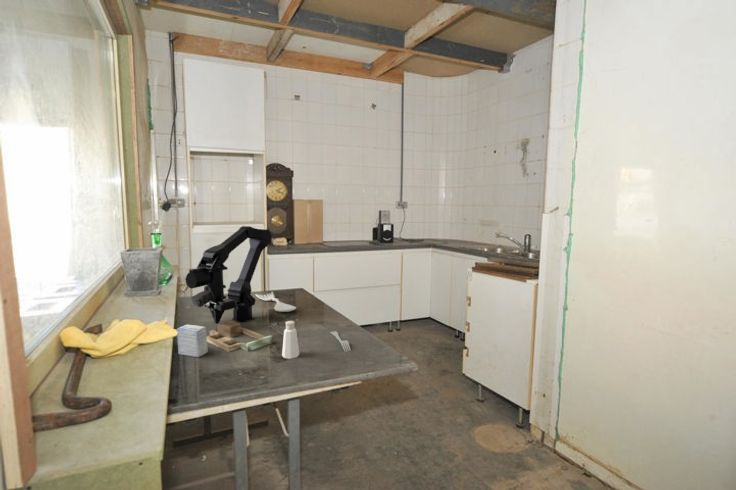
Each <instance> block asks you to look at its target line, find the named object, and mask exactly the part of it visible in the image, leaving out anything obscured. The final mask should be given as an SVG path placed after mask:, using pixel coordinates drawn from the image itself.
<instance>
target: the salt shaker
mask: <svg viewBox="0 0 736 490" xmlns="http://www.w3.org/2000/svg"><path fill="white" fill-rule="evenodd" d="M298 340H299V339H298V333H297V329H296V328H295V321H294V320H288V321H285V329H284V338H282V341H283V342H282V351H281V356H282V357H283V359H287V360H288V359H289V360H292V359H297V358H298V356H300V347H299V341H298Z"/></svg>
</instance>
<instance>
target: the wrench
mask: <svg viewBox="0 0 736 490" xmlns="http://www.w3.org/2000/svg"><path fill="white" fill-rule="evenodd" d="M265 327H266V328H272V329H273V330H275V331H277V332H278V333H279V334H281V335H282V336H283V338H284V330H285V329H284V328H282V327H281V326H279V324H278V322H277V321H272V322H271V323H270V322H266V324H265ZM283 338H282V339H283Z"/></svg>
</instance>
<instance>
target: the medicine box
mask: <svg viewBox="0 0 736 490" xmlns="http://www.w3.org/2000/svg"><path fill="white" fill-rule="evenodd" d="M177 332H178V333H177ZM176 334H177V335H176V337H177V350H178V351H177V352H178V355H183V356H188V357H194V358H195V357H196V358H200V357H202V356H204V355H205V354H207V353H208V342H207V336H208V335H207V327H206V326H202V325H196V324H194V325H193V324H184V325H183V326H180V327H178V328H176Z"/></svg>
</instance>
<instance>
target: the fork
mask: <svg viewBox="0 0 736 490" xmlns="http://www.w3.org/2000/svg"><path fill="white" fill-rule="evenodd" d="M330 334H332V335H333V336H334V337H335V338H336V340H338V342H339V343H340V345H341V347H342V348H343V351H344V352H348V351H349V352H350V351H351V347H350V343H349V341H348V340H342V339H341V337H340V336H339V333H338V331H336V330H334V331H330Z"/></svg>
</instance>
